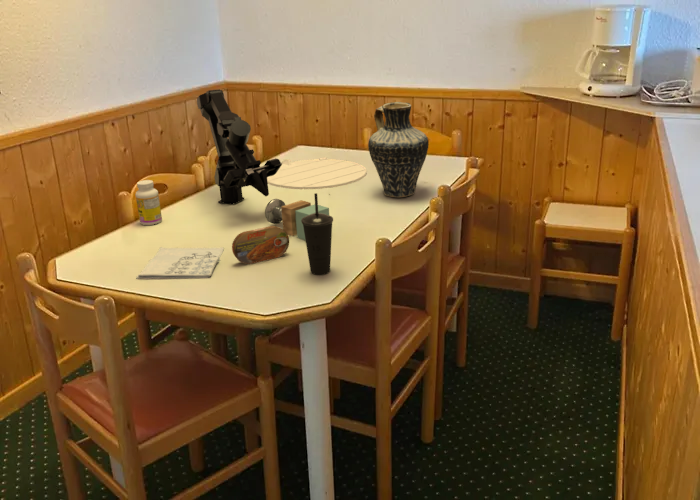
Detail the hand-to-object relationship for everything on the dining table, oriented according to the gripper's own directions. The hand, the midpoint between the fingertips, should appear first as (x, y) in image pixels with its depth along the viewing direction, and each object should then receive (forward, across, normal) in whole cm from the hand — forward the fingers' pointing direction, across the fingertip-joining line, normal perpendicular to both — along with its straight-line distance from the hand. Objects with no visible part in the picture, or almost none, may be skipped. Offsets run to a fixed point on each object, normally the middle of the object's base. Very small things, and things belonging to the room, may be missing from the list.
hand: (267, 195), depth 195 cm
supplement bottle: (-14, +23, -26) cm, 38 cm away
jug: (+15, -45, +3) cm, 47 cm away
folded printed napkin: (+12, +35, -1) cm, 37 cm away
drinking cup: (+34, +16, +21) cm, 43 cm away
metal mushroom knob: (+12, 0, 0) cm, 12 cm away
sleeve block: (+15, 0, +3) cm, 15 cm away
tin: (+21, +20, +9) cm, 30 cm away
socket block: (+20, 0, +8) cm, 21 cm away
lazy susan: (-15, -46, -27) cm, 55 cm away
